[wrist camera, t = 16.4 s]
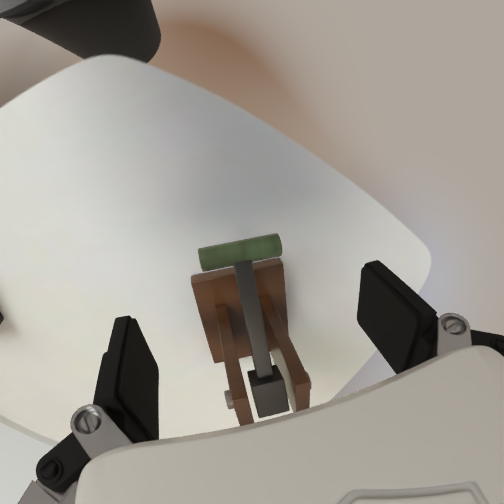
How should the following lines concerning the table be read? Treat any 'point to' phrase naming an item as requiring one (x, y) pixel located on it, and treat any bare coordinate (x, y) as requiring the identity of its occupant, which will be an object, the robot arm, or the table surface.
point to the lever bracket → (235, 334)
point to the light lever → (252, 314)
